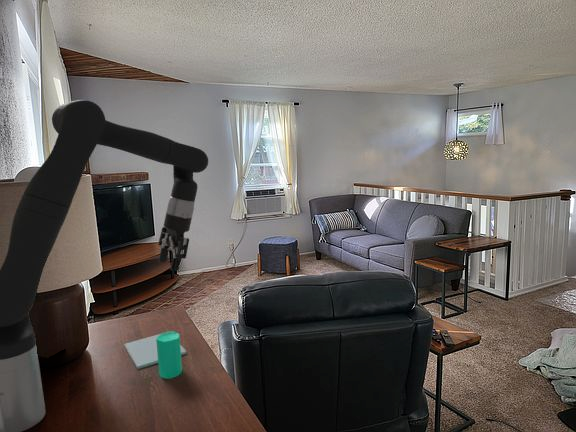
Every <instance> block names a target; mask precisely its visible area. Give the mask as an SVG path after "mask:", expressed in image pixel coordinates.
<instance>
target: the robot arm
mask: <svg viewBox="0 0 576 432" xmlns="http://www.w3.org/2000/svg"><path fill="white" fill-rule="evenodd" d="M51 116H52V117H51V124H52V126H53V129H54V130H55V132H57V138H56V140H55V143H54V146H53V148H52V149H51V152H50V154H49V155H48V157H47V158H46V160H44V162H43V163H42V165H40V167H39V168H38V169H37V171H36V173H35V174H33V176H32V177H31V178H30V180H29V182H28V184H27V186H26V187H25V189H24V191H23V193H22V196H21V198H20V199H19V203H18V205H17V208H16V209H15V213H14V216H13V219H12V223H11V230H10V236H9V243H8V249H7V252H6V255H5V258H4V261H3V263H2V265H1V267H0V432H24V431H26V430H29V429H30V428H33V427H34V426H36V425H37V424H39V423H40V422H41V421H42V420H43V419H44V417H45V415H46V403H45V399H44V390H43V384H42V376H41V368H40V363H39V357H38V354H37V346H36V338H35V333H34V330H33V327H32V325H31V322H30V318H29V311H30V310H31V308H32V306H33V303H34V300H35V296H36V293H37V289H38V285H39V282H40V278H41V275H42V272H43V268H44V266H45V263H46V261H47V258H48V256H49V254H51V252H52V250H53V248H54V245H55V243H56V240H57V238H58V236H59V235H60V231H61V229H62V227H63V225H64V223H65V220H66V219H67V215H68V214H69V210H70V208H71V206H72V202H73V200H74V197H75V195H76V193H77V190H78V187H79V185H80V182H81V179H82V176H83V174H84V171H85V168H86V166H87V163H88V161H89V159H90V158H91V156H92V154H93V152H94V150H95V148H96V147H97V145H99V146H103V147H108V148H112V149H116V150H119V151H123V152H125V153H126V152H127V153H129V154H132V155H135V156H139V157H141V158H145V159H147V160H151V161H154V162H158V163H160V164H164V165H170V166H172V168H173V170H172V171H173V172H172V173H173V175H172V176H173V183H172V189H171V194H170V197H169V201H168V203H167V207H166V213H165V216H164V221H163V226H162V227H161V232H160V235H159V239H158V246H160V247H159V249H160V251H159V252H160V253H159V258H158V261H159V262H161V263H166V262H167V260H168V255H169V251H171V252H172V261H171V265H170V270H171V271H172V272H177V271H179V268H180V264H181V261H182V259H186V258H187V254H188V250H189V243H190V238H189V237H185V233H187V232H189V231H190V228H191V224H192V219H193V215H194V210H195V201H196V197H197V193H198V183H197V182H196V181H195V179H194V174H195V173H196V174H197V173H201V172H203V171H205V170H206V169H207V167H208V165H209V157H208V155H207V153H206V152H205V151H204V150H202V149H201V148H197V147H194V146H191V145H188V144H184V143H181V142H177V141H175V140H172V139H171V138H169V137H165V136H162V135H161V134H157V133H154V132H151V131H147V130H143V129H138V128H134V127H128V126H126V125H121V124H119V123H118V124H117V123H115V122H111V121H109V120H106V116H105V113H104V111H103V109H102V108H101V107H100V105H98V104H97V103H95V102H94V101H91V100H87V99H77V100H72V101H69V102H65V103H63V104H61V105H59V106H58V107H56V108H55V110H54V112H53V113H52V115H51Z"/></svg>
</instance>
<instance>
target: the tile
mask: <svg viewBox="0 0 576 432" xmlns="http://www.w3.org/2000/svg"><path fill="white" fill-rule="evenodd" d="M160 334H161V333H158V334H155V335H152V336H148V337H144V338H141V339H138V340H133V341H130V342H127V343H124V348H125V350H126V351H127V353H128V355H129V357H130V358H131V360H132V362H133V364H134V366H135V368H136V370H139V369H142V368H143V369H144V368H146V367H149V366H152V365H156V364H158V354H157V342H156V338H157V337H158V336H159V335H160ZM180 348H181V356H183V355H186V354H188V353H187V350H186V349H185V348H184V347H183V346H182V344H181V343H180Z"/></svg>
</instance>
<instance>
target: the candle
mask: <svg viewBox="0 0 576 432" xmlns="http://www.w3.org/2000/svg"><path fill="white" fill-rule="evenodd" d="M159 334H160V335H159V336H158V337H157V338H156V342H157V354H158V363H157V364H158V365H157V366H158V374H159V377H160V378H161V379H166V380H168V379H173V377H174V378H176V377H179V375H181V374H182V372H183V363H182V355H181V348H180V344H181V336H180V335H181V333H178V332H176V331H173V330H171V331H168V330H167V331H166V332H161V333H159Z"/></svg>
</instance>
